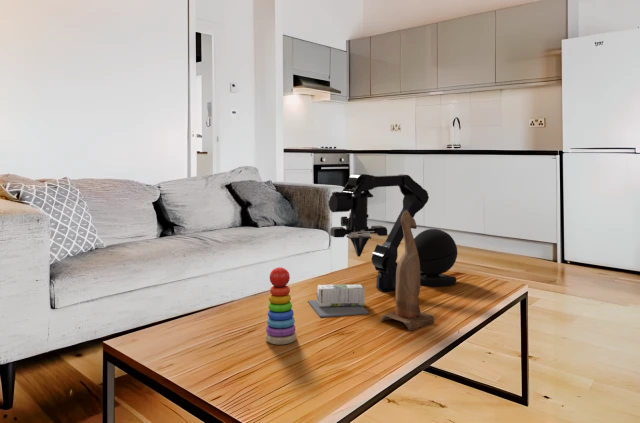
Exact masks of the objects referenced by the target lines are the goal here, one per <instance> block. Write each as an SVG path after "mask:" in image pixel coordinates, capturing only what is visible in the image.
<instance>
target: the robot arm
mask: <svg viewBox="0 0 640 423" xmlns="http://www.w3.org/2000/svg"><path fill="white" fill-rule="evenodd" d="M382 187H385V188H386V187H399V191H400V193H401V194H402V195H403V198H402V209H401V211H400V213H399V215H398V217H397V218H396V221H395V222H394V225H393V226H392V228H391V230H390V232H389V234H388V228H387V227H385V226H383V225H371V227H369V226H368V218H369V215H370V214H368V207H369V206H368V199H369V198H374V195H373V194H372V193H371V192H370V191H371V190H373V189H377V188H382ZM331 192H332V193H331V195H330V197H329V200H328V208H329V211H330V212H331V213H343V212H344V213H345V212H346V213H347V212H349V215H348V216H341V217H340V226H331V228H330V231H329V233H330V236H332V237H333V238H345V237H346V238H347V239H349V240H350V241H351V243H352V245H353V248H354V251H355V255H356V256H357V257H361V255H362V253H363V251H364V248H365V247H366V244H367V243H368V242H369V239H370V240H371V239H372V236H371V235H372V234H376V235H378V237H379V236H380V237H384V236H386V240H385V241H384V242H383V244H376V245H375V248H374V250H373V252H371V255H372V256H371V263H372V265H373V266H374V268H375V271H377V275H376V285H375V288H377V289H378V290H379V291H381V292H396V269H397V265H398V262H397V259H398V253H399V252H398V248H399V247H400V245H401V243H402V240H404V234H403V228H402V225H401V216H402V215H403V213H404V212H405V211H408V212H409V214H410V216H411V217H412V218H414V217H415V216H416V214H417V213H419V212H420V211H422V210H423V208H424V207H425V205H426V204H427V203H428V201H429V199H430V197H429V193H428V191H427V190H426V189H424V188H423V187H422V185H420V184H419V183H417V181H415V180H414V179H413V178H412V177H411V176H410V175H409V174H396V175H393V174H392V175H372V174H365V173H353V174H351V175H350V176H349V178H348V180H347V183H346V184H345V185H344V187H343V189H342V191H331ZM414 219H415V218H414Z"/></svg>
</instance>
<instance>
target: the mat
mask: <svg viewBox="0 0 640 423" xmlns="http://www.w3.org/2000/svg"><path fill="white" fill-rule="evenodd" d="M307 303H308V305H310V306H311V308H312V310H314V312H315V313H316V314H317V316H318V318H331V317H332V318H333V317H343V316H344V317H346V316H358V315H368V314H370V312H369V311H368V310H367V309H366V308H364V306H325V307H320V306H319V304H318V302H317V299H313V300H307Z"/></svg>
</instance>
